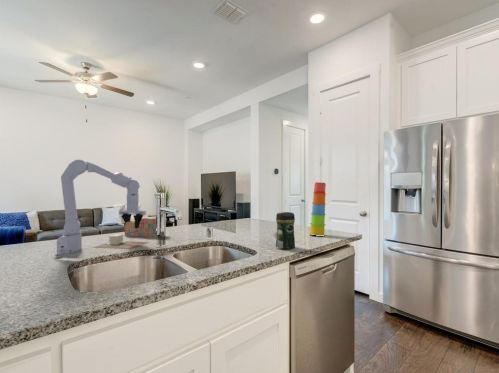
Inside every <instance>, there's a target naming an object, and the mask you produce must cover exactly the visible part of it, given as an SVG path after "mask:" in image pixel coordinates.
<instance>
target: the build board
mask: <svg viewBox="0 0 499 373" xmlns="http://www.w3.org/2000/svg"><path fill="white" fill-rule="evenodd" d="M149 243H150V242H149V241H148V242H147V241H127V240H123V242H121V243H119V244H109V242H106V243H102V244H99V245H96V246H94V248H96V249H97V248H98V249H115V250H116V249H118V250H134V249H136V248H139V247H141V246H144V245H147V244H149Z"/></svg>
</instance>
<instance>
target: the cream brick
mask: <svg viewBox="0 0 499 373" xmlns="http://www.w3.org/2000/svg"><path fill="white" fill-rule="evenodd" d="M108 236H109V238H108V241H109V242H108V243H109V244H119V243H121V242H123V241H124V234H117V233H116V234H111V235H108Z"/></svg>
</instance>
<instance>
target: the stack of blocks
mask: <svg viewBox="0 0 499 373" xmlns="http://www.w3.org/2000/svg"><path fill="white" fill-rule="evenodd" d="M156 217H157V216H143V217H142V219H141V221H140V224H139V229H136V230H126V225H125V224H124V236H125V237H126V236H127V237H128V236H129V237H153V238H154V237H155V238H158V237H157V231H156Z"/></svg>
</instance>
